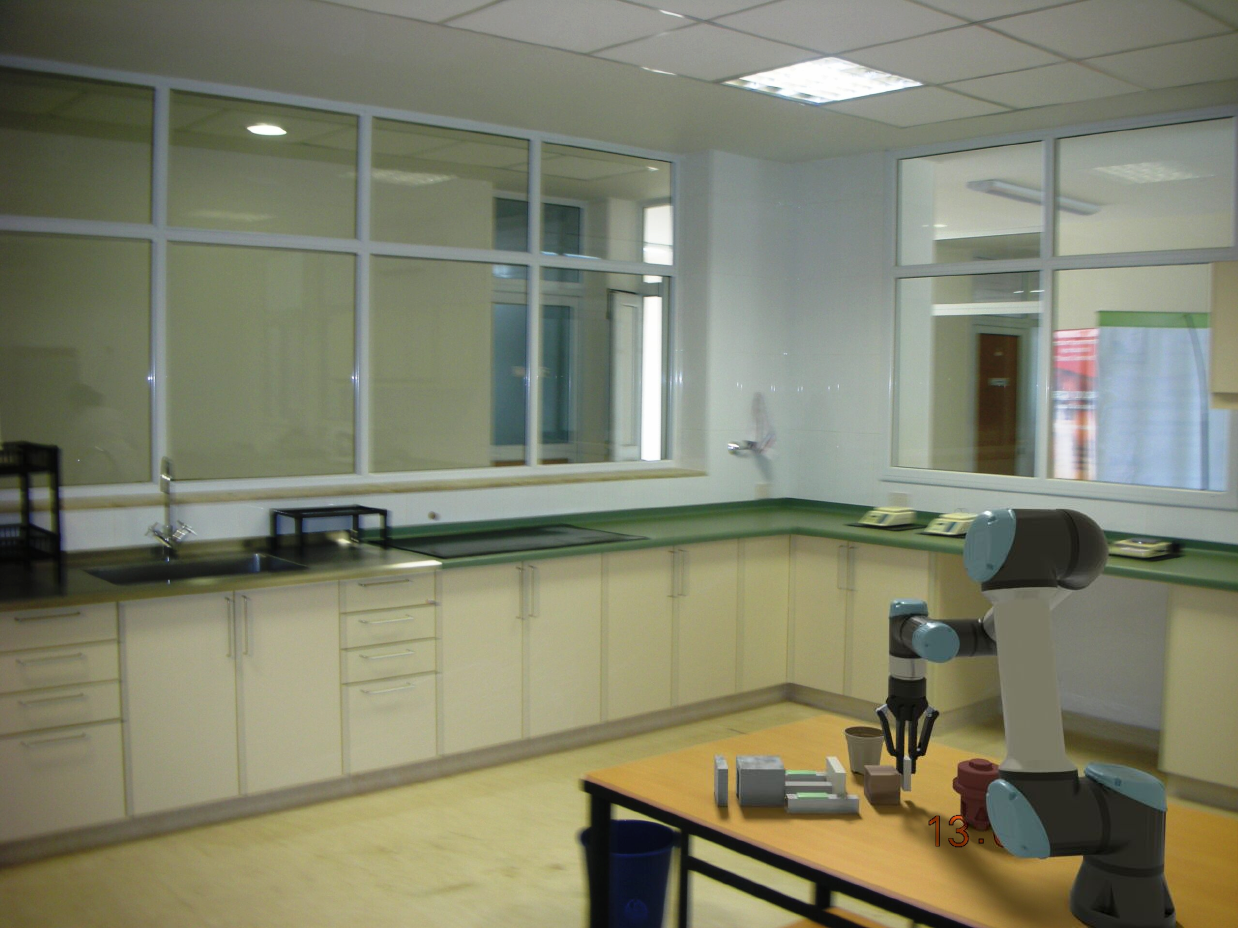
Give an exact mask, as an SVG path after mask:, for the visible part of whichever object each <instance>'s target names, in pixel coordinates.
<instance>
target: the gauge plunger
mask: <svg viewBox="0 0 1238 928" xmlns="http://www.w3.org/2000/svg"><path fill="white" fill-rule="evenodd" d="M825 764H826V766H825V767H826V768H825V770H826V771H825V772H826V782H786V781H785V798H786V794H796V793H827V794H847V772H846V770H845V769H844V767H843V765H842V764H841V762H840V761H839V759H838V758H837V756H826V763H825Z"/></svg>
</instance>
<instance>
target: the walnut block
mask: <svg viewBox="0 0 1238 928" xmlns="http://www.w3.org/2000/svg"><path fill="white" fill-rule="evenodd" d="M901 790H902V788H901V774H899V772H898V771H897V770H896V766H894V765H893V764H892V765H891V764H890V765H889V764H887V765H883V764H880V765H864V774H863V795H864V797H865V798H866V800H867V802H868V803H869V804H870V805H876V806H877V805H878V806H879V805H901Z"/></svg>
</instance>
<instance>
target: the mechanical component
mask: <svg viewBox="0 0 1238 928" xmlns="http://www.w3.org/2000/svg"><path fill="white" fill-rule="evenodd" d="M999 765H1000V764H997V763H994V762H992V761H990V760H989V759H985V758H979V757H977V758H971V759H968V760H963V761H960V762H959V763H957V775H956V776H955V777H954V778H953V779H952V789H953V791H954V792H955V793H957V794H958V795H960V799H959V800H960V804H959V805H960V808H959V810H960V813H959V814H960V817H961V820H962V821H963V822H965V823H966V824H969V825H971V826H973V827H974V828H975V829H976V830H977V831H981V832H983V831H986V828H987V827H988V826H990V825H991V822H990V819H989V816H988V811H987V805H986V794H987V793H988V790H987V789H988V787H989V785H990V784H991V783H992V782H994V781H995V780H997V779H999V769H998V766H999ZM991 826H992V825H991Z"/></svg>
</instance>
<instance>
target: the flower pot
mask: <svg viewBox="0 0 1238 928" xmlns="http://www.w3.org/2000/svg"><path fill="white" fill-rule="evenodd" d="M842 732H843V734H844V736H845V740H846V744H847V752H848V761H849V768H850V770H851V771H852V772H853V773H856V772H857V773H859V774H862V775H864V765H881V758H882V752H883V745H884V743H885V740H884V735H883V731H882V728H879V727H874V726H870V725H869V726H867V725H853V726H848V727H845V728H844V729H843V731H842Z"/></svg>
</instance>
